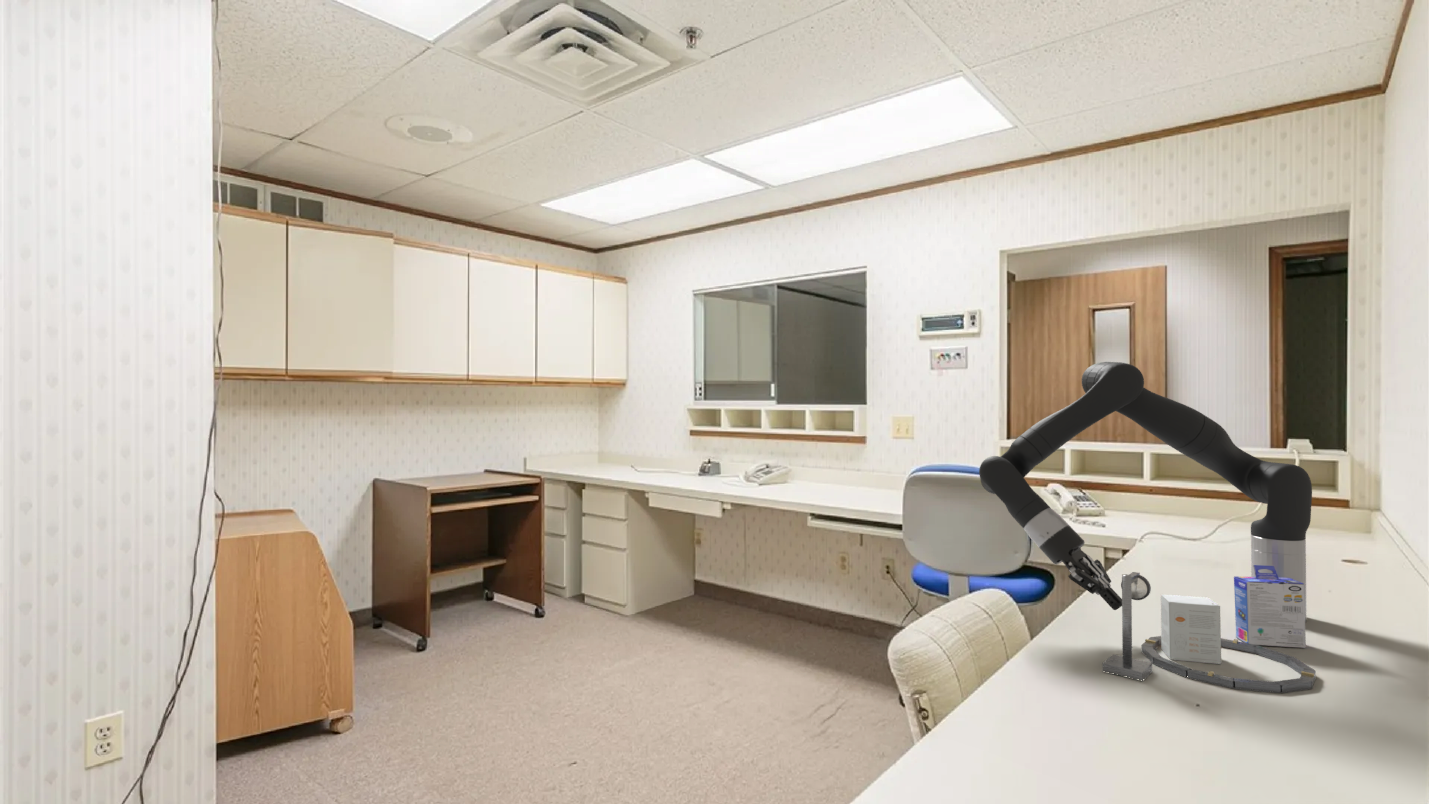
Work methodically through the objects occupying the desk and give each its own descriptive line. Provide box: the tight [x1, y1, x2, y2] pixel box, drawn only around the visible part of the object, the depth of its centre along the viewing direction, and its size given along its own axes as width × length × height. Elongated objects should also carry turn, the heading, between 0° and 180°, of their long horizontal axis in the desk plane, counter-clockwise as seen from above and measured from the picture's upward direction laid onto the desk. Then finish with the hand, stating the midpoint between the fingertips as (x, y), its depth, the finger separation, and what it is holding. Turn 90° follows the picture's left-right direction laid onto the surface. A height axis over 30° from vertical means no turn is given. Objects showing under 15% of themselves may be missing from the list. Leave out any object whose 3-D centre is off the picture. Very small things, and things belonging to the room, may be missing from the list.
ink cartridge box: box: [1233, 565, 1307, 649], centre depth 133 cm, size 10×6×14 cm, turn 78°
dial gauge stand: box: [1102, 571, 1153, 682], centre depth 120 cm, size 9×6×16 cm, turn 135°
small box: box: [1160, 593, 1222, 665], centre depth 125 cm, size 8×6×10 cm
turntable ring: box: [1141, 635, 1317, 694], centre depth 122 cm, size 24×24×2 cm
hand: (1120, 607), depth 134 cm, fingers closed
